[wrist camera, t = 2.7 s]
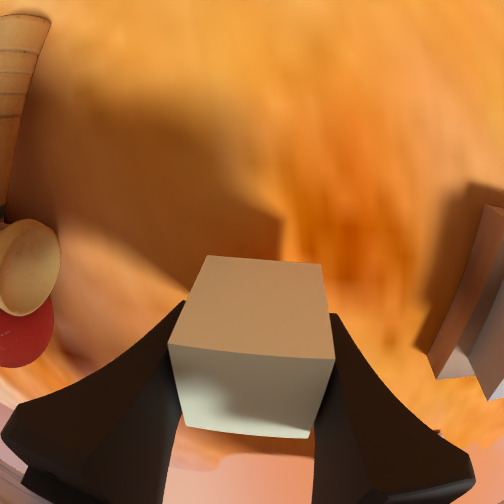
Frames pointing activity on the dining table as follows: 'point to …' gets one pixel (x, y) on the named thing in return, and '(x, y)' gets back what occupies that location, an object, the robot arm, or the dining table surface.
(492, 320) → the slate cube
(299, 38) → the dining table surface
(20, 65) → the kendama
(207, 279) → the sage block
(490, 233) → the walnut slab
